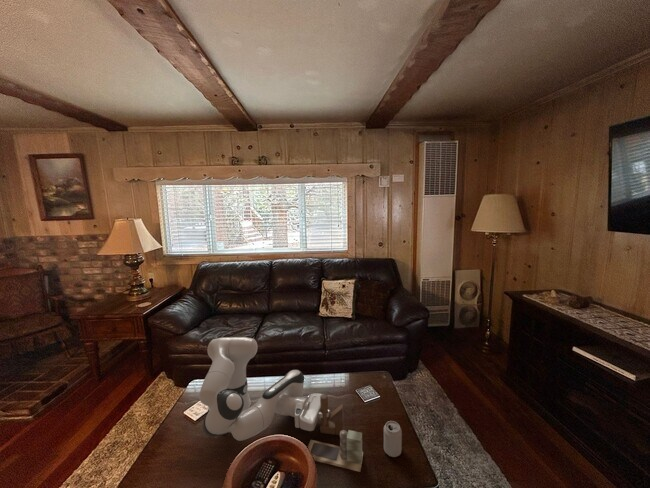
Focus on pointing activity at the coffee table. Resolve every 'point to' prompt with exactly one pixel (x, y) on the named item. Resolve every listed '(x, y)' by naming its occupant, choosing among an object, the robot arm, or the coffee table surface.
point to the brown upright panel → (331, 418)
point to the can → (392, 438)
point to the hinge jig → (340, 451)
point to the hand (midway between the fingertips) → (329, 413)
